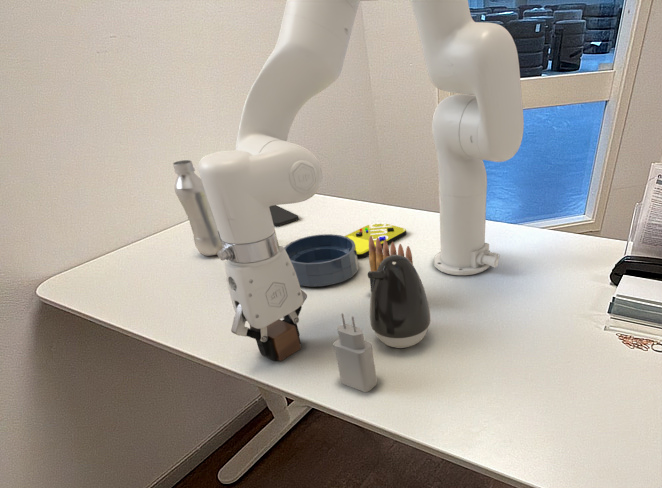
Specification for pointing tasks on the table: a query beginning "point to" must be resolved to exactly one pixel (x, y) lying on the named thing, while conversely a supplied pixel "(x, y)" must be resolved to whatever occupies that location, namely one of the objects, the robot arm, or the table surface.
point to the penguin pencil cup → (398, 303)
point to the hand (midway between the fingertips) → (281, 348)
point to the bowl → (323, 259)
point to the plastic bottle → (197, 208)
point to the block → (283, 338)
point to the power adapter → (354, 358)
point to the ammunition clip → (383, 254)
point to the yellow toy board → (375, 236)
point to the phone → (281, 215)
